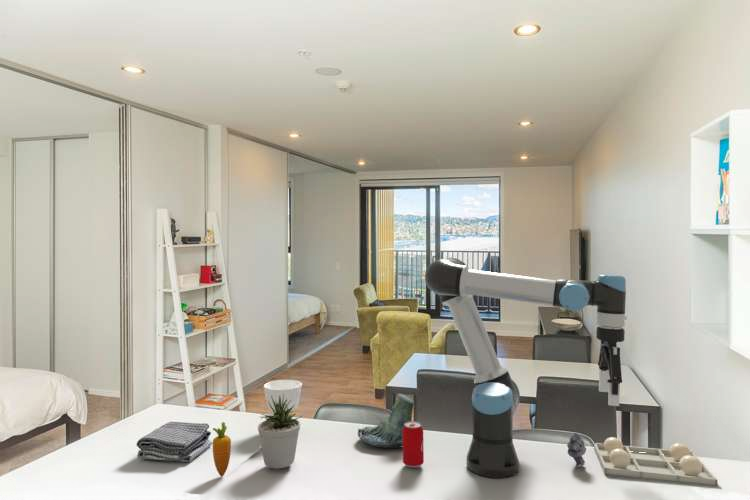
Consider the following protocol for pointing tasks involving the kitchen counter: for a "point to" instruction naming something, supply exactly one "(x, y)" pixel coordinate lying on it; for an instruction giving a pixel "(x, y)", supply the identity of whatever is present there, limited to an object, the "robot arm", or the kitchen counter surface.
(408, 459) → the beverage can
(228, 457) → the carrot
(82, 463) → the kitchen counter surface
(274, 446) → the potted plant
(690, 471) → the egg near right
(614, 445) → the egg far left
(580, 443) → the seashell
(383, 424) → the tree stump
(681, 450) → the egg far right
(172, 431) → the towel
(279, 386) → the cup
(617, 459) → the egg near left
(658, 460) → the egg tray
